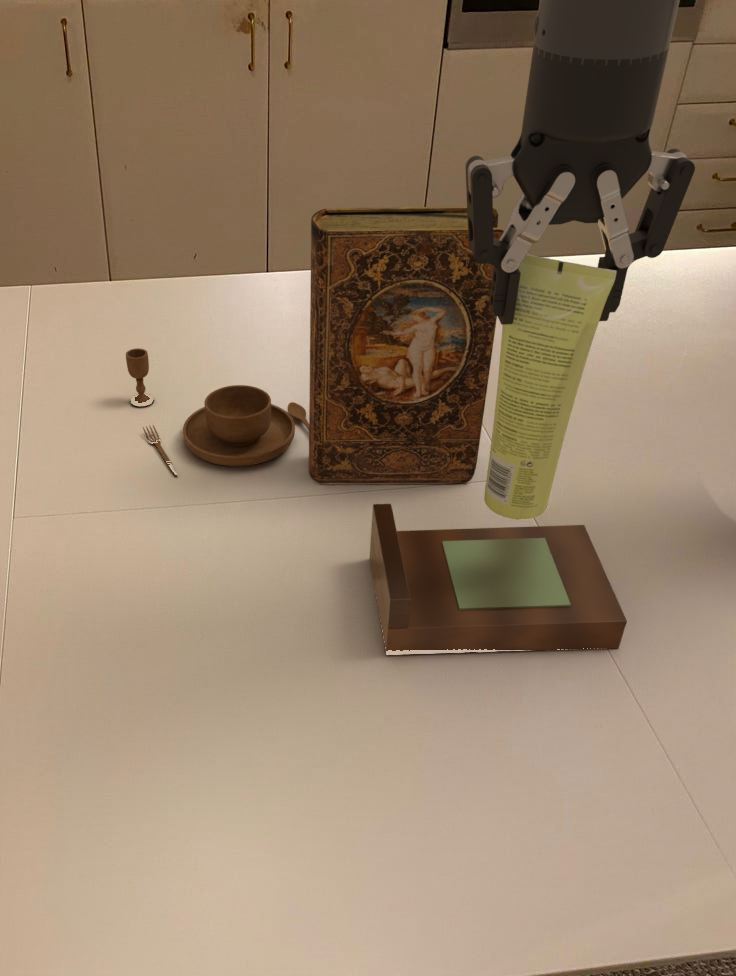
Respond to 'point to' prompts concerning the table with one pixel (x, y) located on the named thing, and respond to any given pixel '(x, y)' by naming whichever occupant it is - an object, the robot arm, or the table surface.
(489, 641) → the brown wooden stand
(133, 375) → the place setting
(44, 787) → the table surface
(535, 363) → the tube
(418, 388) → the book
